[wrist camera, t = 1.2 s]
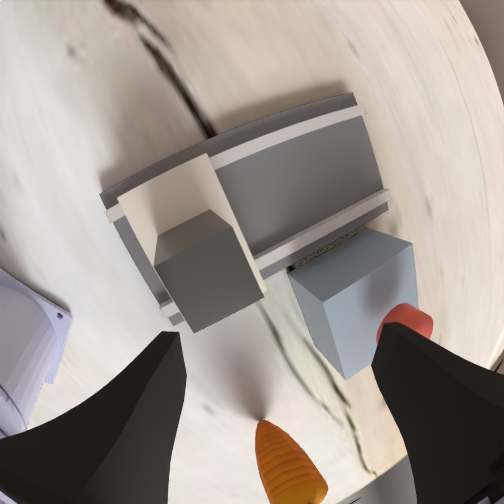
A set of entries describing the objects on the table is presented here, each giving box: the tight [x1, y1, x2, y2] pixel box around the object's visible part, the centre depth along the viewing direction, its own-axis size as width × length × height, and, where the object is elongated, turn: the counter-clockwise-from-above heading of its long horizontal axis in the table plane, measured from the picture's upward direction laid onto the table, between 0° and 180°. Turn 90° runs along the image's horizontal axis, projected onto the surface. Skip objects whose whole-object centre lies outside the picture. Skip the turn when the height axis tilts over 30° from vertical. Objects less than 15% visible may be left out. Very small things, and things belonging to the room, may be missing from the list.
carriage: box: [117, 153, 268, 333], centre depth 13 cm, size 5×8×7 cm, turn 22°
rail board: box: [99, 92, 391, 326], centre depth 18 cm, size 19×10×2 cm, turn 112°
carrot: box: [255, 420, 328, 504], centre depth 18 cm, size 5×5×15 cm
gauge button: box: [376, 303, 433, 344], centre depth 16 cm, size 4×4×2 cm
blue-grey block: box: [287, 228, 418, 380], centre depth 21 cm, size 8×8×5 cm
